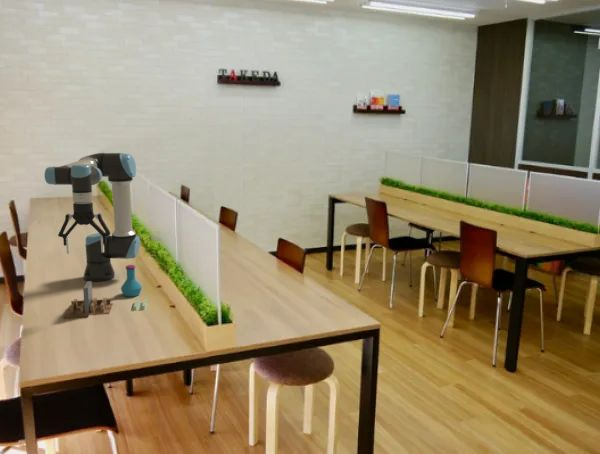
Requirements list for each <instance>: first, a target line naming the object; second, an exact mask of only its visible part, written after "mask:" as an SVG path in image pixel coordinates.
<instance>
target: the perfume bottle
mask: <svg viewBox="0 0 600 454" xmlns="http://www.w3.org/2000/svg"><path fill="white" fill-rule="evenodd" d="M135 269H136V266H135V264H128V265H126V266H125V270H126V280H125V281H124V282H123V284H122V285H121V286H120V287H121V288H120V290H121V293H122V295H123V296H125V297H127V298H128V297H130V298H134V297H137V296H139V295H141V291H142V288H143V287H142V285H141V284H140V282H139V281H138V280H137V279H136V274H135V273H136V271H135Z"/></svg>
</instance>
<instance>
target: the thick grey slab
mask: <svg viewBox="0 0 600 454" xmlns="http://www.w3.org/2000/svg"><path fill="white" fill-rule="evenodd" d="M92 282H93V281H87V280H86V282H85V285H84V287H82V288H83V300H84V309H85V313H90V305H91V303H92V301H93V299H94V298H93V285H92V284H93V283H92Z"/></svg>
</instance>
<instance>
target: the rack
mask: <svg viewBox="0 0 600 454" xmlns="http://www.w3.org/2000/svg"><path fill="white" fill-rule="evenodd" d="M70 302H71V304H70V305H69V306H68V308H66V311H65V312H64V314H63V316H62V317H63V319H78V318H81V319H82V318H88V317H89V316H95V315H109V314H110V313H111V311H112V307H113V305H114V303H113V302H111V298H109V299H107V297H103V299H97V297H96V298H93V301H92V303H91V305H90V313H85V309H84V299H83V300H78V298H76V299H74V300H71V301H70Z"/></svg>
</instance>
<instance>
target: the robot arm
mask: <svg viewBox="0 0 600 454" xmlns="http://www.w3.org/2000/svg"><path fill="white" fill-rule="evenodd" d="M136 175H137V165H136V161H135V159H134V157H133V155H132V154H130V153H123V152H106V153H105V152H98V153H93V154H89V155H86V156H81V158H79V159H78V161H73V162H71V163H68V164H64V165H61V166H47V167H46V168H45V170H44V181H45V182H46V184H48V185H54V186H57V185H58V186H60V185H61V186H62V185H67V186H69V185H71V188H72V203H73V205H72V206H73V207H72V208H73V214H70V213H67V214H65V219H64V221H63V224H62V226H61V229H60V230H59V232H58V234H57V236H58V237H60V238H62V239H63V240H62V241H63V246H66V255H67V254H70V253H71V247H70V236H69V234H70V233H72V232H73V230H74V229H75V228H76V227H77V225H79V226H82V225H84V226H88V225H90V226H91V227H92V228H94V229H95V230H96V231H97V232H96V233H92V234H90V235H87V236H86V238H85V256H86V257H85V258H86V265H85V269H84V273H83V280H85V281H87V280H88V281H92V282H104V281H109V280H112V278H113V279H114V278H115V277H116V276H115V275H116V273H115V270H114V268H113V266H112V265H113V264H112V263H111V259H120V260H121V259H124V260H128V259H130V260H131V259H135V258H137V256H138V255H139V251H140V247H141V238H140V236H138V235H136V234H137V233H136V231H135V230H134V229H133V217H132V216H133V215H132V203H131V202H132V199H131V185H130V184H131V183H132V181H133V178H134V177H136ZM103 177H105V178H107V180H108V181H107V182H109V183H110V184H111V192H112V205H113V207H112V208H113V222H114V231H112V232H111V231H110V229H109V227H108V226H107V224H106V223H105V221H104V219H103V216H102V213H101V212H99V213H94V207H93V205H94V204H93V200H94V199H93V189H92V186H95V185H98V184H99V183H100V182H101V181H102V178H103ZM94 218H95V219H96V220H97V221H98V222H99V224H100V226H101V227H102V228H101V227H100V226H99V225H98V224H97V223H96V222H95V220H94ZM71 219H73V220H74V222H73V223H72V225H71V226H70V227H69V228H68V230H66V228H67V226H68V223H69V222H70V220H71ZM65 230H66V232H65ZM64 232H65V233H64ZM111 233H112V234H111ZM114 276H115V277H114Z"/></svg>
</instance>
